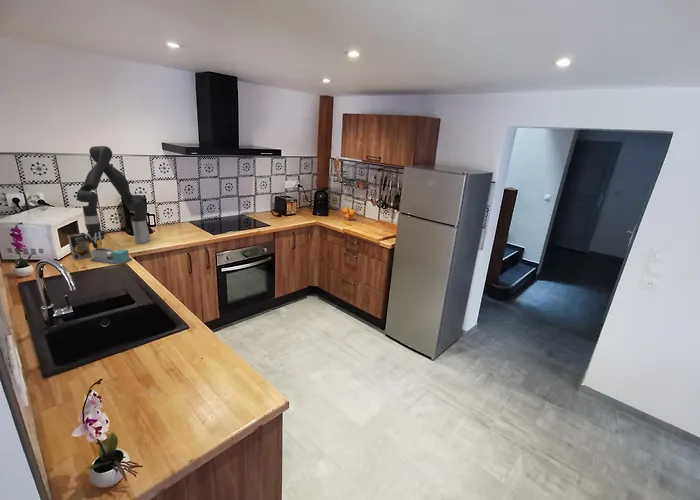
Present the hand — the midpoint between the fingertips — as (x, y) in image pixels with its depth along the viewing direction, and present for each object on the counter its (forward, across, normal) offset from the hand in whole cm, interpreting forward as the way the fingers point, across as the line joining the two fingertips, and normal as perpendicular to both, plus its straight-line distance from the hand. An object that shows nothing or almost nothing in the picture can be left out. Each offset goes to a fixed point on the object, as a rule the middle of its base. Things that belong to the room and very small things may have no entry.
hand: (97, 247), depth 225 cm
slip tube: (+6, 0, +5) cm, 7 cm away
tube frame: (+8, 0, +9) cm, 12 cm away
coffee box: (+9, +2, -12) cm, 15 cm away
